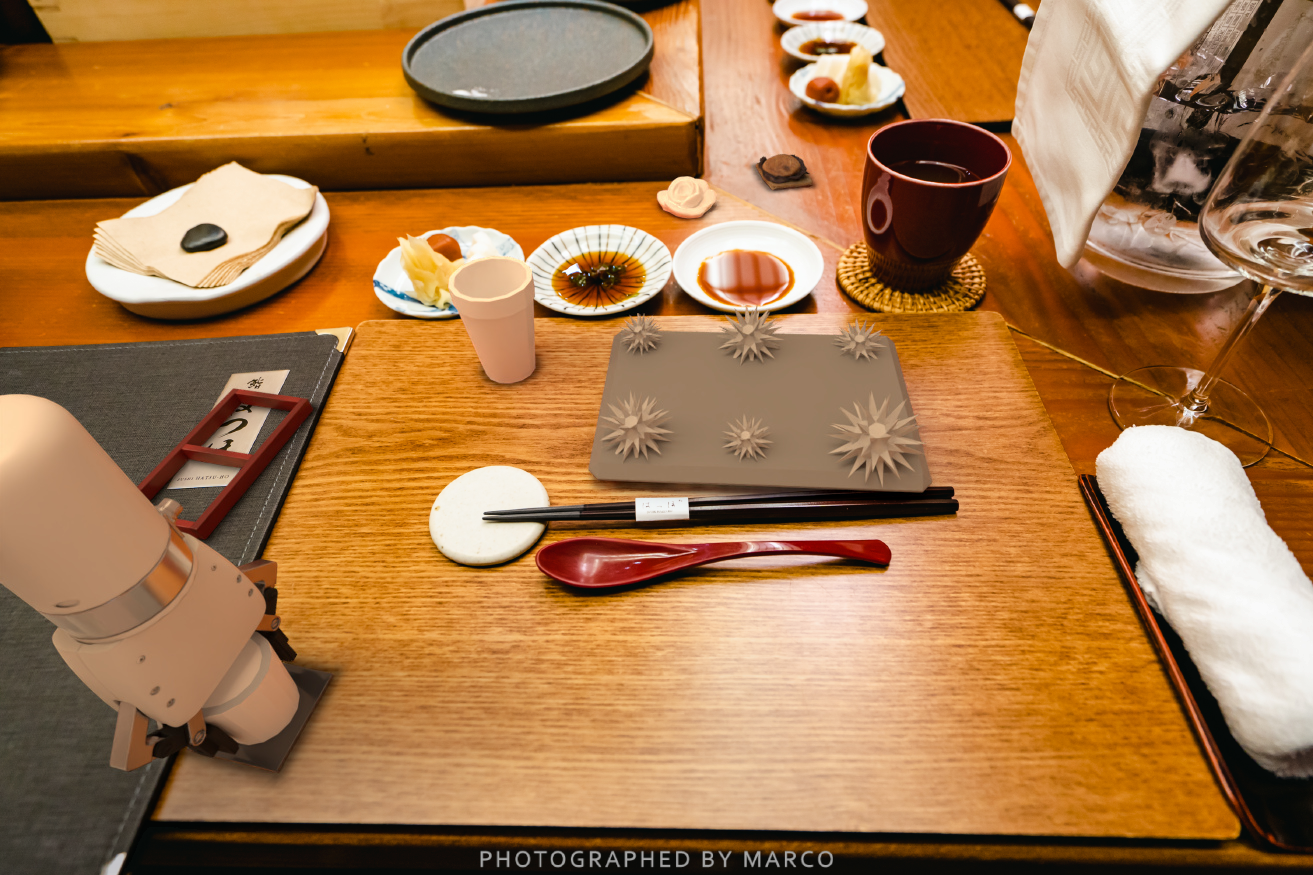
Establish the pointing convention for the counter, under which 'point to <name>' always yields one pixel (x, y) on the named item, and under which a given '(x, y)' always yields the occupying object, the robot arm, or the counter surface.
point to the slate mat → (279, 746)
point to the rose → (687, 197)
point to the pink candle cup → (253, 695)
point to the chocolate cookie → (783, 171)
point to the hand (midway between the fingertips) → (251, 698)
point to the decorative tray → (758, 409)
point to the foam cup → (498, 314)
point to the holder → (227, 454)
